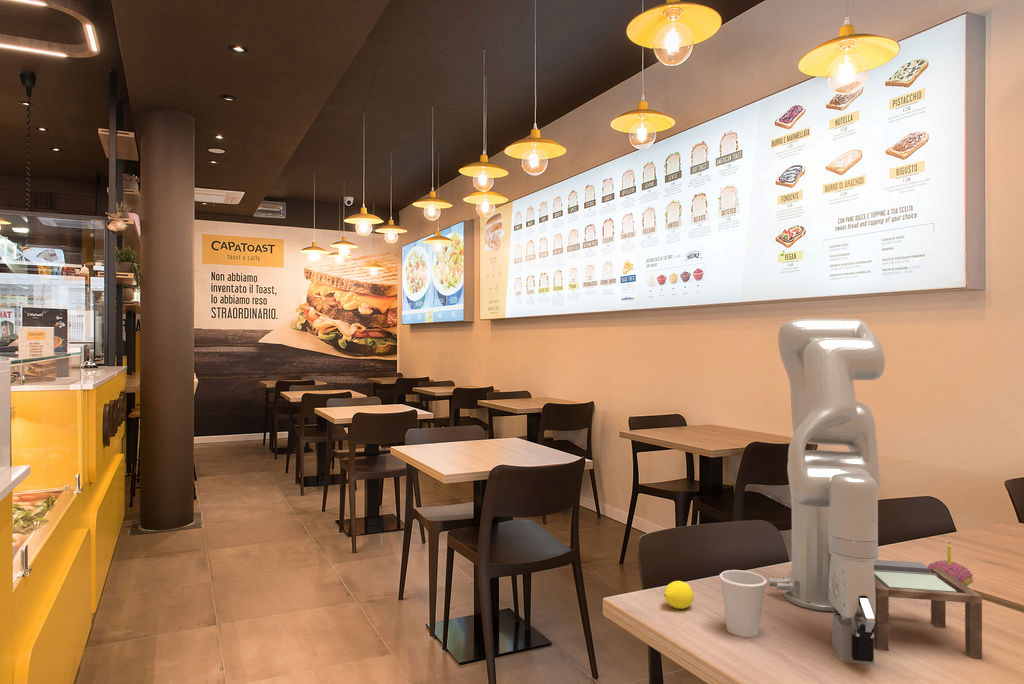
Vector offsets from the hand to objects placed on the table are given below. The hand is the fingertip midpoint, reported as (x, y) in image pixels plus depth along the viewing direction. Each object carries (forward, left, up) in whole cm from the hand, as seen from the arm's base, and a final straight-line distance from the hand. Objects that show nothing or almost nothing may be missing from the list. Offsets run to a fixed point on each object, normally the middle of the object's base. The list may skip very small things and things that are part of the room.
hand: (852, 647), depth 112 cm
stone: (0, 0, -2) cm, 2 cm away
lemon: (-28, +16, -2) cm, 32 cm away
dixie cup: (-17, +7, -2) cm, 18 cm away
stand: (+14, +11, -2) cm, 18 cm away
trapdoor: (+14, +13, +6) cm, 20 cm away
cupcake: (+31, +36, -2) cm, 48 cm away
